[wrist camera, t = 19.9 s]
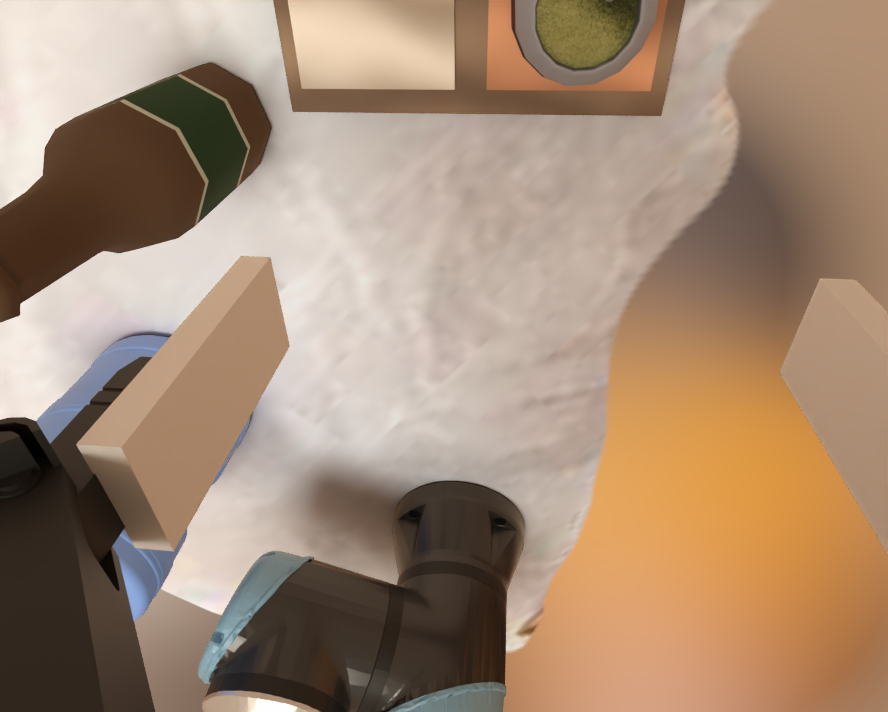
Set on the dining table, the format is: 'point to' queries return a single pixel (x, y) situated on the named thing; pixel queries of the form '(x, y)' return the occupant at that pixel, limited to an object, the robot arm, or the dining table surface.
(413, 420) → the dining table surface
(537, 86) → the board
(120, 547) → the water jug
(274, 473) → the dining table surface
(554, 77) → the mate gourd
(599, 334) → the dining table surface
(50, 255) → the beer bottle
